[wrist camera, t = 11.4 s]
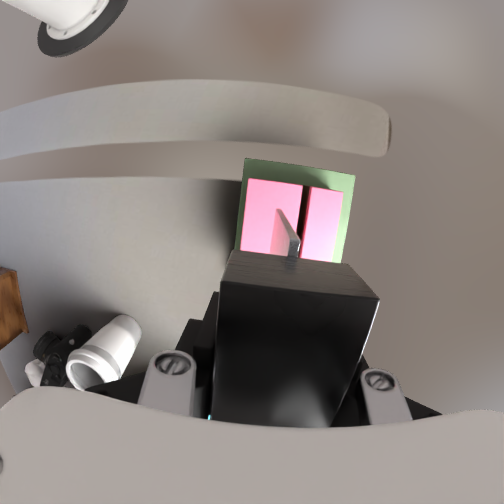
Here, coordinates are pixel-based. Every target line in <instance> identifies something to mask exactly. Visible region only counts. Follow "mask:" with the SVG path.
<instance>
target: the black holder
mask: <svg viewBox="0 0 504 504" xmlns="http://www.w3.org/2000/svg"><path fill="white" fill-rule="evenodd" d="M299 246H300V239H299V237H298V235H297V234H296V232H295V231H294V229H293V227H292V226H291V224H290V222H289V221H288V219H287V217H286V216H285V214H284V213H283V211H282V209H278V208H276V211H275V218H274V225H273V232H272V239H271V246H270V253H269V254H266V253H259V252H251V251H244V250H236V249H233V250H232V252H231V255H230V257H229V260H228V263H227V265H226V268H225V271H224V274H223V276H222V279H221V282H220V291H219V302H218V313H217V325H216V337H215V349H214V363H213V377H212V392H211V408H210V420H214V421H221V422H229V423H238V424H247V425H259V426H272V427H295V428H330V427H331V425H332V423H333V420H334V418H335V416H336V414H337V412H338V410H339V408H340V406H341V403H342V401H343V399H344V397H345V394H346V392H347V390H348V387H349V385H350V383H351V380H352V378H353V375H354V373H355V371H356V368H357V365H358V363H359V360H360V358H361V355H362V352H363V350H364V347H365V344H366V341H367V339H368V336H369V333H370V330H371V327H372V324H373V321H374V318H375V314H376V311H377V308H378V305H379V302H380V299H379V297H378V296H376V294H375V293H374V292H373V291H372V290H371V289H370V287H369V286H368V285H367V284H366V283H365V282H364V281H363V280H362V278H361V277H360V276H359V275H358V274H357V273H356V272H355V271H354V270H353V269H352V268H351V267H350V265H348V264H343V263H335V262H328V261H320V260H312V259H305V258H298V252H299Z"/></svg>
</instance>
